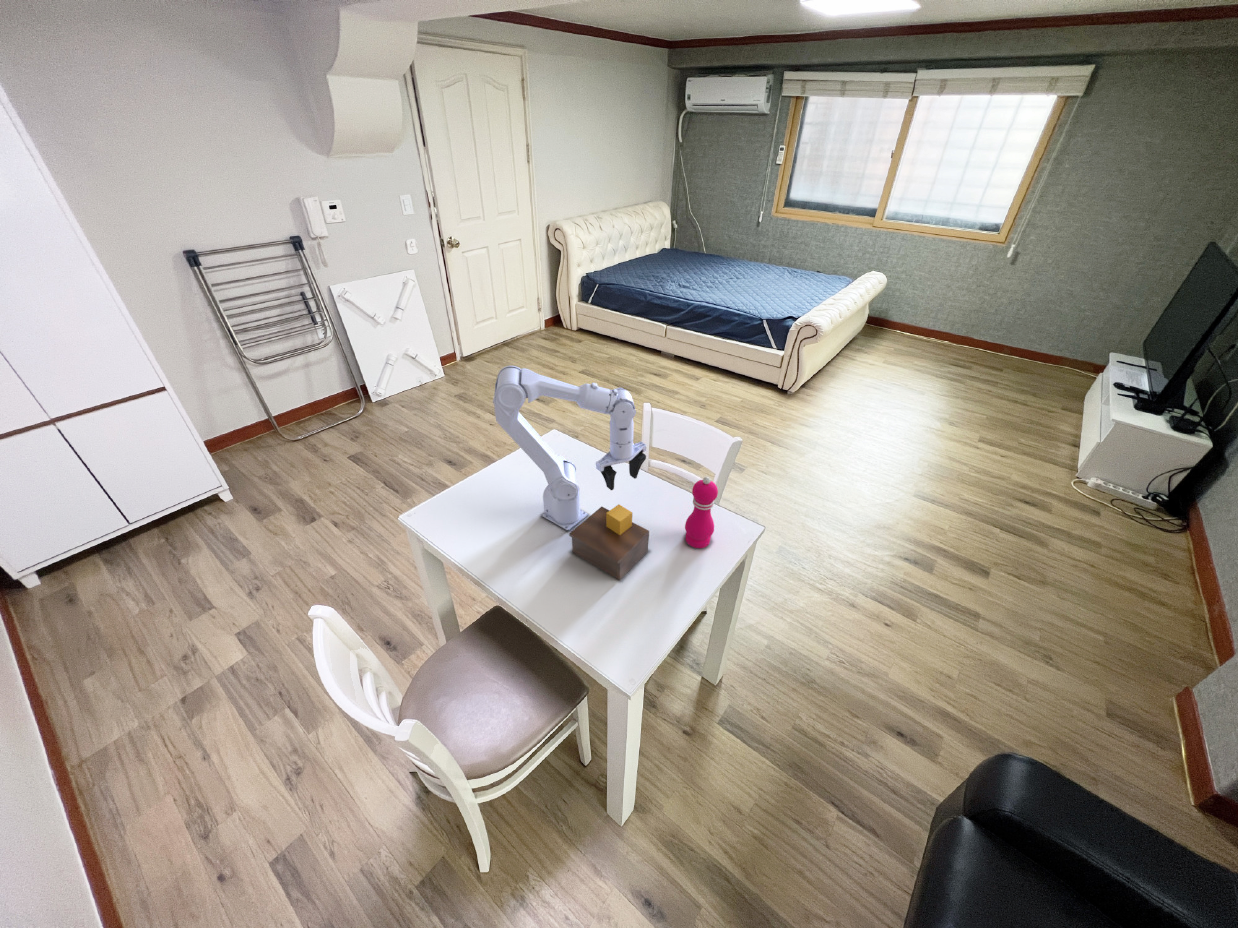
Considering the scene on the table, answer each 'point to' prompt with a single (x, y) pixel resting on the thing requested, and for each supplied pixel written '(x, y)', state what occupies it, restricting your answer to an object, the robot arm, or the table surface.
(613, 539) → the box lid
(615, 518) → the mustard block
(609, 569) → the box
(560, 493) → the robot arm
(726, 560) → the table surface
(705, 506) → the pepper mill
